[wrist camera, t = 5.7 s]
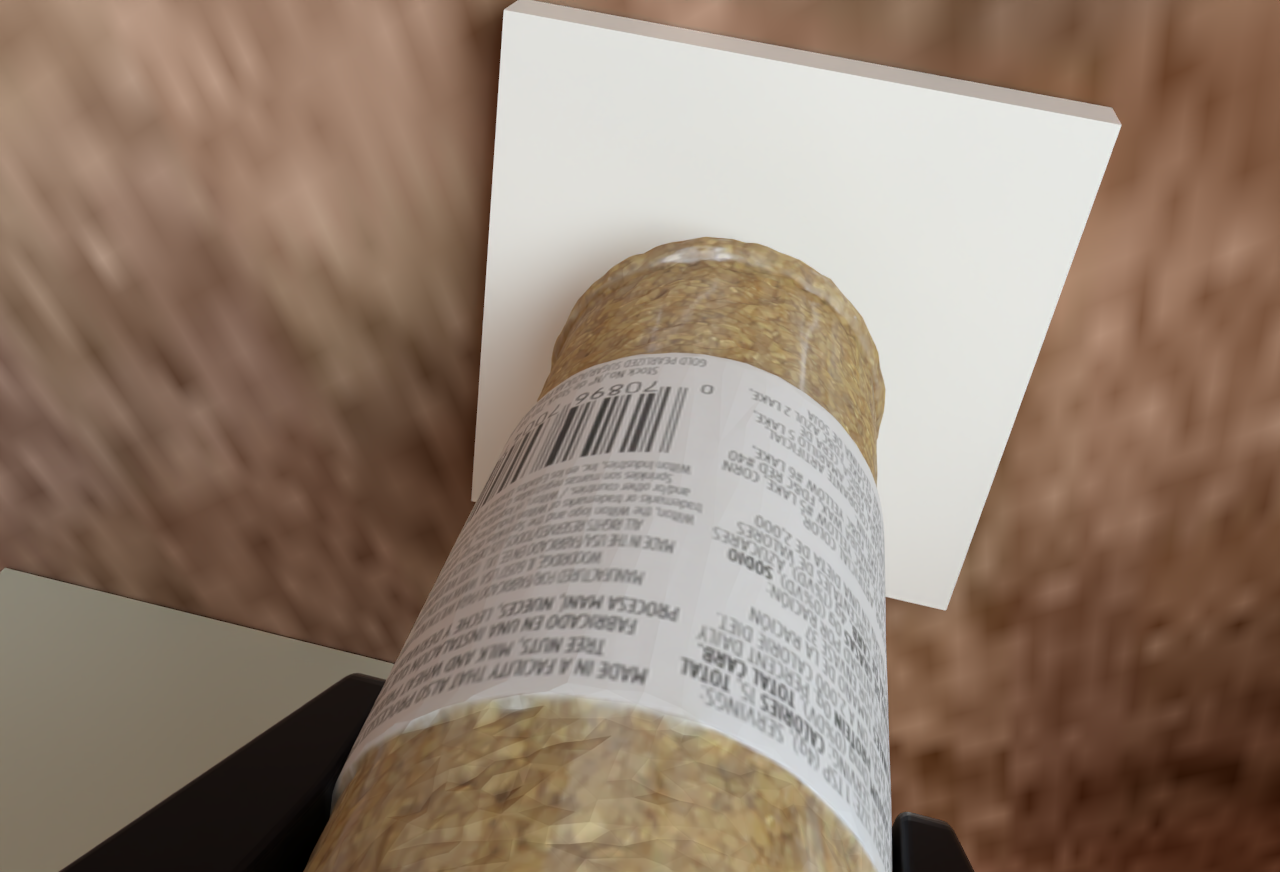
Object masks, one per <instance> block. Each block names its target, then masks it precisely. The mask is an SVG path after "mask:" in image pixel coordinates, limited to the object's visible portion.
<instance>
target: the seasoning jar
mask: <svg viewBox="0 0 1280 872" xmlns="http://www.w3.org/2000/svg"><path fill="white" fill-rule="evenodd" d="M885 390H886V389H885V384H884V380H883V376H882V373H881V369H880V362H879V353H878V351H877V348H876V345H875V343H874V341H873V339H872V337H871V335H870V333H869V330H868V328H867V326H866V324H865V322H864V319H863V317H862V316H861V315H860V313H859V312H858V311H857V310H856V308H855V307H854V306H853V304H852V303H851V302H850V301H849V300H848V299H847V298H846V297H845V296H844V295H843V293H842V292H841V291H840V290H839V289H838V287H837V286H836V285H835V284H834V282H833V281H832V280H831V279H830V278H828V277H826V276H824V275H821V274H820V273H819V272H817V271H816V270H815V269H813V268H812V267H810V266H809V265H807V264H806V263H804V262H802V261H801V260H799V259H796V258H794V257H791V256H789V255H786V254H783V253H780V252H778V251H776V250H774V249H771V248H769V247H767V246H764V245H761V244H758V243H745V242H741V241H738V240H734V239H726V238H714V237H701V238H695V239H690V240H685V241H678V242H671V243H667V244H663V245H660V246H657V247H655V248H653V249H651V250H649V251H647V252H645V253H644V254H637V255H633V256H631V257H628V258H627V259H625V260H623V261H622V262H620V263H618V264H617V265H615V266H614V267H612V268H611V269H610V270H609V271H608V272H607V273H606V274H605V275H604V276H603V277H601V278H600V279H598V280H597V281H596V282H595V283H593V284H592V285H591V286H590V287H589V289H588V290H587V291H586V292H585V293H584V294H583V295H582V296H581V297H580V298H579V299H578V301H577V302H576V304H575V305H574V307H573V309H572V311H571V313H570V315H569V317H568V320H567V322H566V324H565V325H564V327H563V329H562V331H561V333H560V335H559V336H558V337H557V340H556V342H555V345H554V348H553V353H552V359H551V372H550V374H549V376H548V378H547V380H546V382H545V384H544V387H543V389H542V392H541V394H540V396H539V398H538V400H537V403H535V405H534V406H533V407H532V408H531V409H530V410H529V411H528V412H527V413H526V414H525V415H524V417H523V418H522V419H521V421H520V422H519V424H518V425H517V426H516V428H515V429H514V431H513V432H512V434H511V435H510V437H509V439H508V441H507V443H506V445H505V447H504V449H503V451H502V452H501V454H500V457H499V459H498V461H497V463H496V465H495V467H494V469H493V471H492V472H491V474H490V476H489V478H488V480H487V482H486V484H485V486H484V488H483V490H482V492H481V493H480V495H479V497H478V499H477V501H476V503H475V505H474V507H473V509H472V511H471V513H470V515H469V517H468V519H467V521H466V523H465V525H464V527H463V529H462V531H461V533H460V534H459V536H458V538H457V540H456V542H455V544H454V546H453V548H452V550H451V552H450V554H449V556H448V558H447V560H446V562H445V564H444V566H443V568H442V570H441V572H440V574H439V576H438V578H437V580H436V582H435V584H434V586H433V588H432V590H431V592H430V594H429V596H428V598H427V600H426V602H425V604H424V606H423V608H422V610H421V612H420V614H419V616H418V618H417V620H416V622H415V624H414V626H413V628H412V630H411V632H410V634H409V636H408V638H407V640H406V642H405V644H404V646H403V648H402V650H401V652H400V654H399V656H398V658H397V660H396V662H395V664H394V666H393V668H392V670H391V672H390V674H389V676H388V678H387V680H386V682H385V684H384V686H383V688H382V690H381V692H380V694H379V696H378V698H377V700H376V702H375V704H374V706H373V708H372V710H371V712H370V714H369V716H368V718H367V720H366V722H365V723H364V725H363V727H362V729H361V731H360V733H359V735H358V737H357V739H356V741H355V743H354V745H353V747H352V750H351V752H350V754H349V756H348V758H347V760H346V762H345V764H344V767H343V769H342V771H341V773H340V775H339V777H338V779H337V781H336V784H335V787H334V790H333V793H332V801H331V810H330V818H329V821H328V823H327V825H326V826H325V828H324V830H323V832H322V834H321V836H320V838H319V840H318V842H317V844H316V846H315V847H314V849H313V851H312V853H311V855H310V857H309V860H308V862H307V865H306V867H305V869H304V871H303V872H893V866H892V820H891V780H890V753H889V721H888V686H887V659H886V598H885V543H884V522H883V514H882V507H881V503H880V498H879V494H878V491H877V439H878V434H879V428H880V424H881V420H882V417H883V413H884V405H885Z"/></svg>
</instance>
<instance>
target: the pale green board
mask: <svg viewBox="0 0 1280 872" xmlns="http://www.w3.org/2000/svg"><path fill="white" fill-rule="evenodd" d="M393 666H394V664H392V663H388V662H384V661H380V660H376V659H372V658H368V657H364V656H360V655H356V654H352V653H348V652H344V651H340V650H336V649H332V648H328V647H324V646H320V645H316V644H312V643H307V642H303V641H299V640H295V639H291V638H287V637H283V636H279V635H275V634H271V633H267V632H263V631H259V630H255V629H251V628H247V627H243V626H239V625H235V624H231V623H227V622H223V621H218V620H214V619H210V618H206V617H202V616H198V615H194V614H190V613H186V612H182V611H178V610H174V609H170V608H166V607H162V606H158V605H154V604H150V603H146V602H142V601H138V600H134V599H129V598H125V597H121V596H117V595H113V594H109V593H105V592H101V591H97V590H93V589H89V588H85V587H81V586H77V585H73V584H69V583H65V582H61V581H57V580H53V579H49V578H45V577H40V576H36V575H32V574H28V573H24V572H20V571H16V570H12V569H8V568H4V569H3V570H2V571H1V572H0V872H59V871H60V870H62V869H63V868H65V867H66V866H68V865H69V864H70V863H72V862H73V861H75V860H76V859H78V858H79V857H81V856H82V855H84V854H85V853H87V852H88V851H90V850H91V849H93V848H94V847H95V846H97V845H98V844H100V843H101V842H103V841H104V840H106V839H107V838H109V837H110V836H112V835H113V834H115V833H116V832H117V831H119V830H120V829H122V828H123V827H125V826H126V825H128V824H129V823H131V822H132V821H134V820H135V819H137V818H138V817H140V816H141V815H142V814H144V813H145V812H147V811H148V810H150V809H151V808H153V807H154V806H156V805H157V804H159V803H160V802H162V801H163V800H164V799H166V798H167V797H169V796H170V795H172V794H173V793H175V792H176V791H178V790H179V789H181V788H182V787H184V786H185V785H186V784H188V783H189V782H191V781H192V780H194V779H195V778H197V777H198V776H200V775H201V774H203V773H204V772H206V771H207V770H209V769H210V768H211V767H213V766H214V765H216V764H217V763H219V762H220V761H222V760H223V759H225V758H226V757H228V756H229V755H231V754H232V753H233V752H235V751H236V750H238V749H239V748H241V747H242V746H244V745H245V744H247V743H248V742H250V741H251V740H253V739H254V738H255V737H257V736H258V735H260V734H261V733H263V732H264V731H266V730H267V729H269V728H270V727H272V726H273V725H275V724H276V723H278V722H279V721H280V720H282V719H283V718H285V717H286V716H288V715H289V714H291V713H292V712H294V711H295V710H297V709H298V708H300V707H301V706H302V705H304V704H305V703H307V702H308V701H310V700H311V699H313V698H314V697H316V696H317V695H319V694H320V693H322V692H323V691H325V690H326V689H327V688H329V687H330V686H332V685H333V684H335V683H336V682H338V681H339V680H341V679H342V678H344V677H345V676H347V675H349V674H353V673H362V674H366V675H370V676H373V677H377V678H381V679H385V680H387V678H388V676H389V674H390V672H391V670H392V668H393Z"/></svg>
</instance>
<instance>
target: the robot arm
mask: <svg viewBox="0 0 1280 872" xmlns="http://www.w3.org/2000/svg"><path fill="white" fill-rule="evenodd" d="M385 682H386V680H385V679H381V678H377V677H373V676H370V675H366V674H362V673H353V674H349V675H347V676H345V677H344V678H342V679H341V680H339V681H338V682H336V683H335V684H333V685H332V686H330V687H329V688H327V689H326V690H325V691H323V692H322V693H320V694H319V695H317V696H316V697H314V698H313V699H311V700H310V701H308V702H307V703H305V704H304V705H302V706H301V707H300V708H298V709H297V710H295V711H294V712H292V713H291V714H289V715H288V716H286V717H285V718H283V719H282V720H280V721H279V722H278V723H276V724H275V725H273V726H272V727H270V728H269V729H267V730H266V731H264V732H263V733H261V734H260V735H258V736H257V737H255V738H254V739H253V740H251V741H250V742H248V743H247V744H245V745H244V746H242V747H241V748H239V749H238V750H236V751H235V752H233V753H232V754H231V755H229V756H228V757H226V758H225V759H223V760H222V761H220V762H219V763H217V764H216V765H214V766H213V767H211V768H210V769H209V770H207V771H206V772H204V773H203V774H201V775H200V776H198V777H197V778H195V779H194V780H192V781H191V782H189V783H188V784H186V785H185V786H184V787H182V788H181V789H179V790H178V791H176V792H175V793H173V794H172V795H170V796H169V797H167V798H166V799H164V800H163V801H162V802H160V803H159V804H157V805H156V806H154V807H153V808H151V809H150V810H148V811H147V812H145V813H144V814H142V815H141V816H140V817H138V818H137V819H135V820H134V821H132V822H131V823H129V824H128V825H126V826H125V827H123V828H122V829H120V830H119V831H117V832H116V833H115V834H113V835H112V836H110V837H109V838H107V839H106V840H104V841H103V842H101V843H100V844H98V845H97V846H95V847H94V848H93V849H91V850H90V851H88V852H87V853H85V854H84V855H82V856H81V857H79V858H78V859H76V860H75V861H73V862H72V863H70V864H69V865H68V866H66V867H65V868H63V869H62V870H60V871H59V872H303V871H304V869H305V867H306V865H307V862H308V860H309V857H310V855H311V853H312V851H313V849H314V847H315V846H316V844H317V842H318V840H319V838H320V836H321V834H322V832H323V830H324V828H325V826H326V825H327V823H328V821H329V818H330V810H331V801H332V793H333V790H334V787H335V784H336V781H337V779H338V777H339V775H340V773H341V771H342V769H343V767H344V764H345V762H346V760H347V758H348V756H349V754H350V752H351V750H352V747H353V745H354V743H355V741H356V739H357V737H358V735H359V733H360V731H361V729H362V727H363V725H364V723H365V722H366V720H367V718H368V716H369V714H370V712H371V710H372V708H373V706H374V704H375V702H376V700H377V698H378V696H379V694H380V692H381V690H382V688H383V686H384V684H385ZM892 866H893V872H974V870H973V868H972V866H971V864H970V862H969V860H968V858H967V856H966V854H965V852H964V850H963V848H962V846H961V844H960V842H959V840H958V838H957V836H956V834H955V832H954V830H953V829H952V827H951V826H950V825H949V824H948V823H946V822H945V821H942V820H939V819H935V818H931V817H927V816H923V815H919V814H915V813H911V812H903V813H900V814H899V815H898V816H897V818H896V819H895V822H894V824H893V827H892Z"/></svg>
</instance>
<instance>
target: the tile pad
mask: <svg viewBox="0 0 1280 872" xmlns="http://www.w3.org/2000/svg"><path fill="white" fill-rule="evenodd" d="M1120 128H1121V123H1120V121H1119V120H1118V118H1117V116H1116V114H1115V112H1114V110H1113V109H1112V108H1110V107H1105V106H1099V105H1094V104H1089V103H1083V102H1078V101H1072V100H1067V99H1062V98H1056V97H1051V96H1045V95H1040V94H1035V93H1029V92H1024V91H1019V90H1013V89H1008V88H1002V87H997V86H992V85H986V84H981V83H975V82H970V81H965V80H959V79H954V78H948V77H943V76H938V75H932V74H927V73H921V72H916V71H911V70H905V69H900V68H895V67H889V66H884V65H878V64H873V63H868V62H862V61H857V60H851V59H846V58H841V57H835V56H830V55H824V54H819V53H814V52H808V51H803V50H797V49H792V48H787V47H781V46H776V45H770V44H765V43H760V42H754V41H749V40H744V39H738V38H733V37H727V36H722V35H717V34H711V33H706V32H700V31H695V30H690V29H684V28H679V27H673V26H668V25H663V24H657V23H652V22H646V21H641V20H636V19H630V18H625V17H620V16H614V15H609V14H603V13H598V12H593V11H587V10H582V9H576V8H571V7H566V6H560V5H555V4H549V3H544V2H539V1H533V0H518V1H516V2H515V3H513V4H512V5H510V6H509V7H507V8H505V9H504V13H503V28H502V43H501V58H500V73H499V88H498V103H497V118H496V134H495V149H494V164H493V179H492V194H491V209H490V224H489V239H488V255H487V270H486V285H485V300H484V315H483V330H482V345H481V360H480V376H479V391H478V406H477V421H476V436H475V451H474V466H473V481H472V497H471V501H474V502H476V501H477V499H478V497H479V495H480V493H481V492H482V490H483V488H484V486H485V484H486V482H487V480H488V478H489V476H490V474H491V472H492V471H493V469H494V467H495V465H496V463H497V461H498V459H499V457H500V454H501V452H502V451H503V449H504V447H505V445H506V443H507V441H508V439H509V437H510V435H511V434H512V432H513V431H514V429H515V428H516V426H517V425H518V424H519V422H520V421H521V419H522V418H523V417H524V415H525V414H526V413H527V412H528V411H529V410H530V409H531V408H532V407H533V406H534V405H535V403H537V400H538V398H539V396H540V394H541V392H542V389H543V387H544V384H545V382H546V380H547V378H548V376H549V374H550V372H551V359H552V353H553V348H554V345H555V342H556V340H557V337H558V336H559V335H560V333H561V331H562V329H563V327H564V325H565V324H566V322H567V320H568V317H569V315H570V313H571V311H572V309H573V307H574V305H575V304H576V302H577V301H578V299H579V298H580V297H581V296H582V295H583V294H584V293H585V292H586V291H587V290H588V289H589V287H590V286H591V285H592V284H593V283H595V282H596V281H597V280H598V279H600V278H601V277H603V276H604V275H605V274H606V273H607V272H608V271H609V270H610V269H611V268H612V267H614V266H615V265H617V264H618V263H620V262H622V261H623V260H625V259H627V258H628V257H631V256H633V255H637V254H644V253H645V252H647V251H649V250H651V249H653V248H655V247H657V246H660V245H663V244H667V243H671V242H678V241H685V240H690V239H695V238H701V237H714V238H726V239H734V240H738V241H741V242H745V243H758V244H761V245H764V246H767V247H769V248H771V249H774V250H776V251H778V252H780V253H783V254H786V255H789V256H791V257H794V258H796V259H799V260H801V261H802V262H804V263H806V264H807V265H809V266H810V267H812V268H813V269H815V270H816V271H817V272H819V273H820V274H821V275H824V276H826V277H828V278H830V279H831V280H832V281H833V282H834V284H835V285H836V286H837V287H838V289H839V290H840V291H841V292H842V293H843V295H844V296H845V297H846V298H847V299H848V300H849V301H850V302H851V303H852V304H853V306H854V307H855V308H856V310H857V311H858V312H859V313H860V315H861V316H862V317H863V319H864V322H865V324H866V326H867V328H868V330H869V333H870V335H871V337H872V339H873V341H874V343H875V345H876V348H877V351H878V353H879V362H880V369H881V373H882V376H883V380H884V384H885V389H886V390H885V405H884V413H883V417H882V420H881V424H880V428H879V434H878V439H877V491H878V494H879V498H880V503H881V507H882V514H883V522H884V543H885V597H889V598H893V599H898V600H902V601H906V602H911V603H915V604H919V605H924V606H928V607H932V608H937V609H941V610H945V611H946V609H947V606H948V604H949V601H950V598H951V595H952V593H953V590H954V587H955V584H956V581H957V579H958V576H959V573H960V570H961V568H962V565H963V562H964V559H965V557H966V554H967V551H968V548H969V545H970V543H971V540H972V537H973V534H974V532H975V529H976V526H977V523H978V521H979V518H980V515H981V512H982V510H983V507H984V504H985V501H986V498H987V496H988V493H989V490H990V487H991V485H992V482H993V479H994V476H995V474H996V471H997V468H998V465H999V462H1000V460H1001V457H1002V454H1003V451H1004V449H1005V446H1006V443H1007V440H1008V438H1009V435H1010V432H1011V429H1012V427H1013V424H1014V421H1015V418H1016V415H1017V413H1018V410H1019V407H1020V404H1021V402H1022V399H1023V396H1024V393H1025V391H1026V388H1027V385H1028V382H1029V379H1030V377H1031V374H1032V371H1033V368H1034V366H1035V363H1036V360H1037V357H1038V355H1039V352H1040V349H1041V346H1042V343H1043V341H1044V338H1045V335H1046V332H1047V330H1048V327H1049V324H1050V321H1051V319H1052V316H1053V313H1054V310H1055V308H1056V305H1057V302H1058V299H1059V296H1060V294H1061V291H1062V288H1063V285H1064V283H1065V280H1066V277H1067V274H1068V272H1069V269H1070V266H1071V263H1072V260H1073V258H1074V255H1075V252H1076V249H1077V247H1078V244H1079V241H1080V238H1081V236H1082V233H1083V230H1084V227H1085V225H1086V222H1087V219H1088V216H1089V213H1090V211H1091V208H1092V205H1093V202H1094V200H1095V197H1096V194H1097V191H1098V189H1099V186H1100V183H1101V180H1102V177H1103V175H1104V172H1105V169H1106V166H1107V164H1108V161H1109V158H1110V155H1111V153H1112V150H1113V147H1114V144H1115V141H1116V139H1117V136H1118V133H1119V130H1120Z"/></svg>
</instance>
